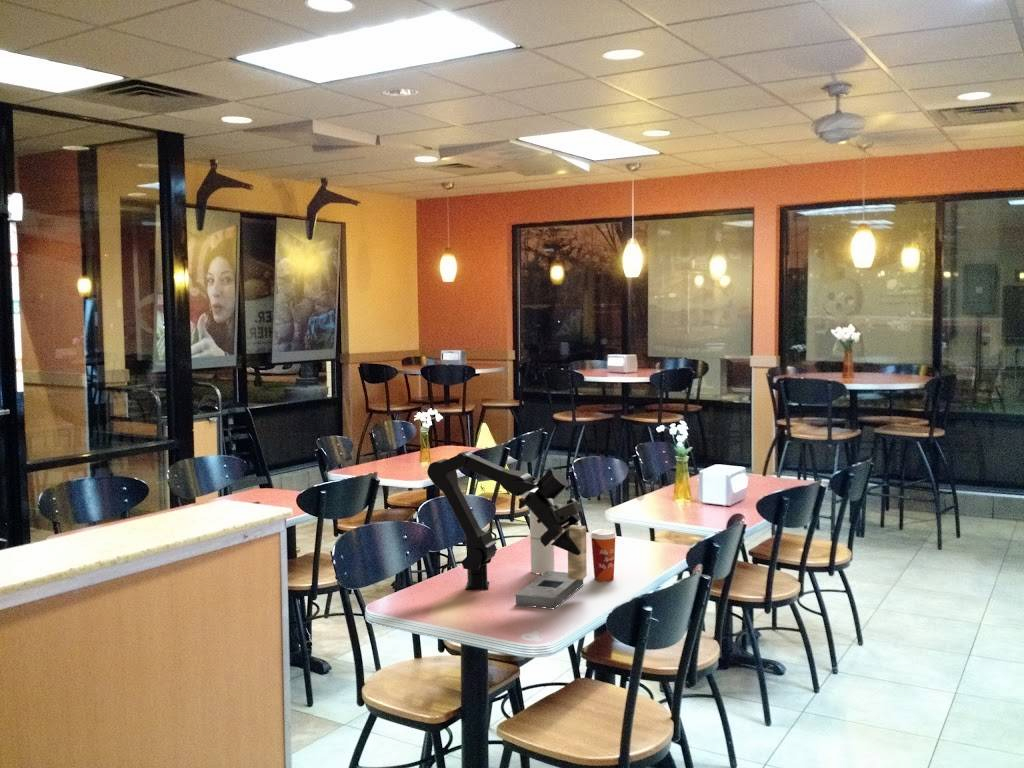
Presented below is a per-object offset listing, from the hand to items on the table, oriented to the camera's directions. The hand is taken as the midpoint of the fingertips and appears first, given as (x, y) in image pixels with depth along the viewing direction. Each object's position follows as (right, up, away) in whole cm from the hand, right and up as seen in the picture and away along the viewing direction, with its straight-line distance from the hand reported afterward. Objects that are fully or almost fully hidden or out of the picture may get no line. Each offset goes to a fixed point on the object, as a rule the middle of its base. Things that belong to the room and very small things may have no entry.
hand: (581, 552), depth 251 cm
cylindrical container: (-10, -11, +28) cm, 32 cm away
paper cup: (+8, -11, +19) cm, 23 cm away
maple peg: (-1, -7, +1) cm, 7 cm away
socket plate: (-8, -13, +5) cm, 16 cm away
